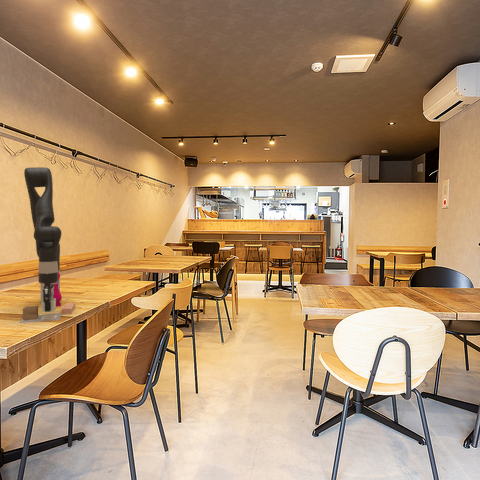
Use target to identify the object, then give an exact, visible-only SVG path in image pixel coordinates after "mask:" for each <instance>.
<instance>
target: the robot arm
mask: <svg viewBox="0 0 480 480" xmlns="http://www.w3.org/2000/svg"><path fill="white" fill-rule="evenodd" d="M52 174H53V173H52V171H51V169H50V168H49V167H43V166H42V167H38V166H37V167H36V166H35V167H32V166H31V167H26V168H25V169H24V173H23V175H24V180H25V184H26V189H27V193H28V198H29V205H30V213H31V219H32V224H33V225H32V226H33V230H34V232H33V239H34V240H35V247H36V249H35V250H36V255H37V257H38V265H37V266H38V270H37V271H38V272H37V273H38V276H37V277H38V283H39V284H40V287H39V289H40V302H41V301H42V300H43V302H44V303H45V311H46V312H45V313H48V312H47V311H51V298H53V297H54V296H53V295H54V285H53V284H52V283H55V282H57V281H58V272H59V273H60V274H61V271H60V265H61V264H60V261H61V260H60V257H61V246H60V245H61V243H60V241H61V238H62V230H61V228H60V227H58V226H52V225H53V224H54V222H55V213H54V205H53V198H54V196H53V195H54V192H53V191H54V189H53V187H54V186H53V185H54V184H53V175H52ZM36 188H44V191H43V193H42V195H40V194H39V193H38V191H37V189H36ZM60 279H61V277H60V278H59V283H58V288H59V291H60V292H61V280H60ZM48 298H49V299H48Z"/></svg>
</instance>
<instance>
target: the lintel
mask: <svg viewBox="0 0 480 480" xmlns="http://www.w3.org/2000/svg"><path fill="white" fill-rule="evenodd" d="M75 309H76V302H67V303H65V304H64V305H63V306H62V308H61V313H62V314H61V315H72V313H73V312H74V311H75Z"/></svg>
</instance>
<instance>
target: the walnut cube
mask: <svg viewBox="0 0 480 480" xmlns="http://www.w3.org/2000/svg"><path fill="white" fill-rule="evenodd" d="M38 315H39V305H29V306H24V307H23V308H22V318H23V321H26V320H37V318H38Z"/></svg>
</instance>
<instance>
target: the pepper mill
mask: <svg viewBox="0 0 480 480" xmlns="http://www.w3.org/2000/svg"><path fill="white" fill-rule="evenodd" d="M59 278H60V279H61V272H60V273H59V272H58V281H57V282H55V283H52V284H53V285H54V295H53V296H54V297H53V298H56V308H60V307H62V303H61V301H62V299H63V298H62V297H63V296H62V293H61V290H60V291H59V288H58V283H59Z"/></svg>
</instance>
